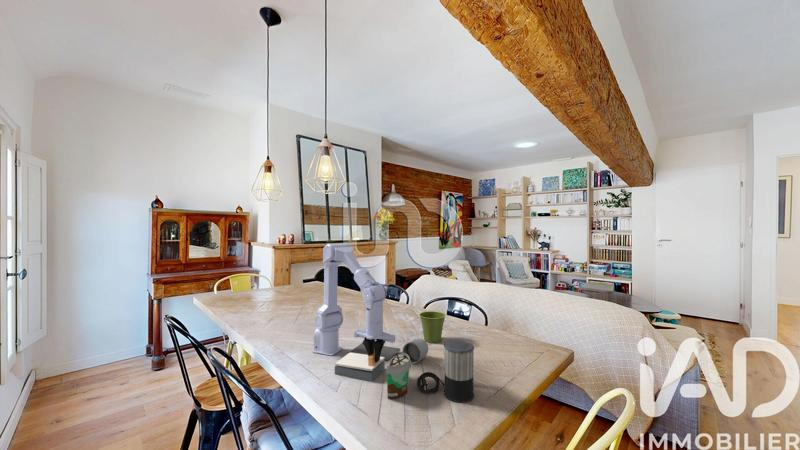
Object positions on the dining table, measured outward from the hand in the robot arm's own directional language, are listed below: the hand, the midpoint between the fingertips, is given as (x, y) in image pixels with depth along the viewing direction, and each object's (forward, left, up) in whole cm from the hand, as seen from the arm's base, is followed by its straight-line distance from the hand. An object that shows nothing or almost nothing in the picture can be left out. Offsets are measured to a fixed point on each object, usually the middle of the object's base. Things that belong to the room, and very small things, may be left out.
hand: (374, 360), depth 108 cm
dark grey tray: (-5, 0, -5) cm, 7 cm away
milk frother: (+25, -2, -5) cm, 26 cm away
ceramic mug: (+8, +16, -5) cm, 19 cm away
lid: (-5, 0, -1) cm, 6 cm away
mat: (-8, +17, -5) cm, 20 cm away
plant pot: (+10, +38, -5) cm, 39 cm away
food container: (+13, -7, -5) cm, 15 cm away
